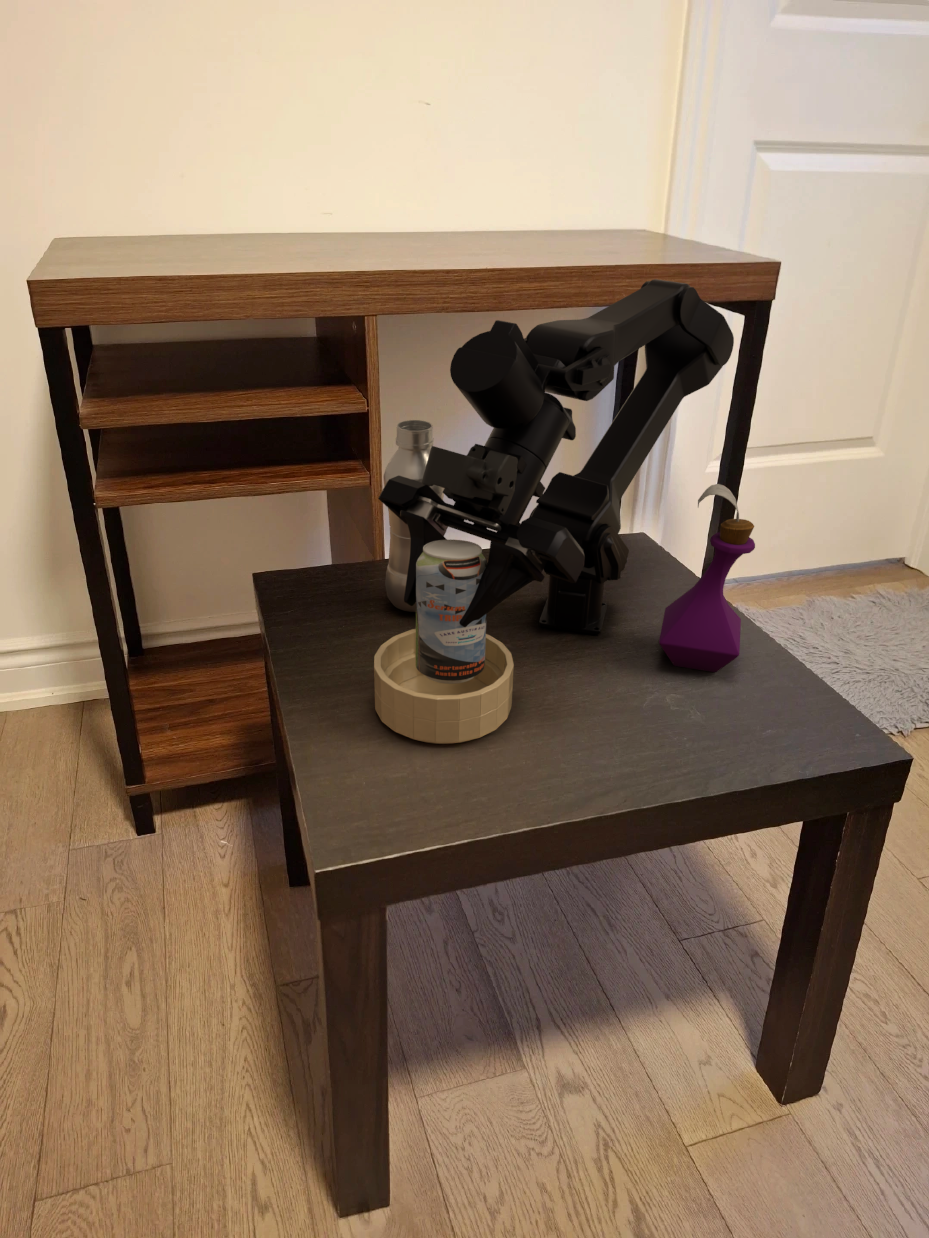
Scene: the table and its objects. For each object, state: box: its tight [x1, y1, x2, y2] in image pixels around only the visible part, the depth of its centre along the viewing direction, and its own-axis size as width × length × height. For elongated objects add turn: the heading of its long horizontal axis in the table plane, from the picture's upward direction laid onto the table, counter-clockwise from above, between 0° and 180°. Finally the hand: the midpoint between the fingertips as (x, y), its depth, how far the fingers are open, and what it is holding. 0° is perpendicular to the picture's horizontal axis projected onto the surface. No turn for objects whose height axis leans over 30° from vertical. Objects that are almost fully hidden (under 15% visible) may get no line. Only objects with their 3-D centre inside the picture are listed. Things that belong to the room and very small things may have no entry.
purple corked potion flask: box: [658, 483, 756, 673], centre depth 89 cm, size 8×8×18 cm
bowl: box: [373, 628, 515, 745], centre depth 84 cm, size 12×12×5 cm
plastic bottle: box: [383, 419, 445, 613], centre depth 97 cm, size 6×7×20 cm
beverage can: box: [415, 539, 488, 684], centre depth 80 cm, size 6×7×12 cm
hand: (434, 614), depth 79 cm, fingers closed on beverage can, 6 cm apart
